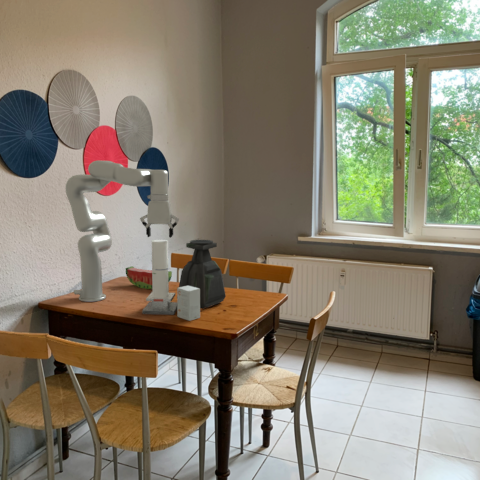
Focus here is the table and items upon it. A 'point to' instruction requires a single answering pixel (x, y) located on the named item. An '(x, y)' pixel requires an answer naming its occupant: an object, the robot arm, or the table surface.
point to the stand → (160, 305)
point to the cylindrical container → (160, 268)
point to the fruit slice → (142, 277)
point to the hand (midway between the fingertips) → (159, 236)
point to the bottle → (203, 274)
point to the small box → (188, 302)
